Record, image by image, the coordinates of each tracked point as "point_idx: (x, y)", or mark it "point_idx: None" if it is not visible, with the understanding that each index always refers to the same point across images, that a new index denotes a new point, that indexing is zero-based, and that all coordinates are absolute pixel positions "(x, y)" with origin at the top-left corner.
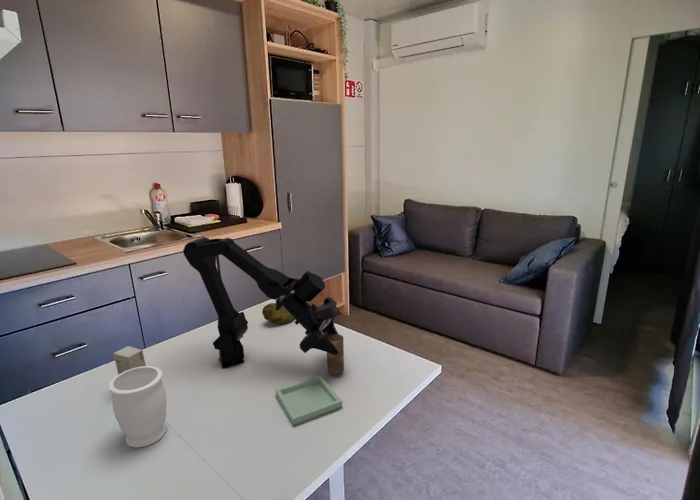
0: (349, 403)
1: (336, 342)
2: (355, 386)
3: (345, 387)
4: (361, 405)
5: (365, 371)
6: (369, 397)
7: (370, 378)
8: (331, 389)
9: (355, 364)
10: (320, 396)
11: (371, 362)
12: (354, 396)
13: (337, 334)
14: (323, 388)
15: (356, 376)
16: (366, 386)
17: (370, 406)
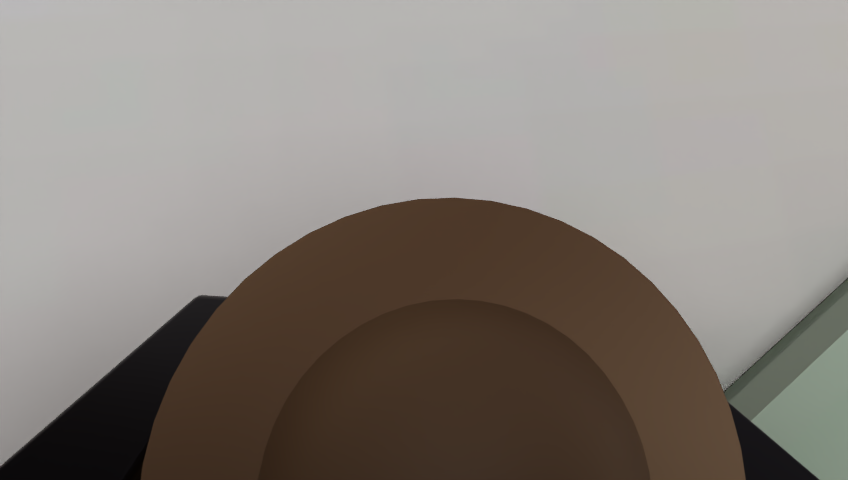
0: (823, 178)
1: (708, 379)
2: (579, 152)
3: (612, 248)
4: (823, 75)
5: (304, 75)
6: (710, 16)
7: (425, 19)
8: (828, 360)
9: (169, 197)
10: (844, 467)
11: (112, 20)
12: (724, 146)
13: (439, 416)
14: None
15: (410, 160)
16: (560, 50)
17: (818, 3)
